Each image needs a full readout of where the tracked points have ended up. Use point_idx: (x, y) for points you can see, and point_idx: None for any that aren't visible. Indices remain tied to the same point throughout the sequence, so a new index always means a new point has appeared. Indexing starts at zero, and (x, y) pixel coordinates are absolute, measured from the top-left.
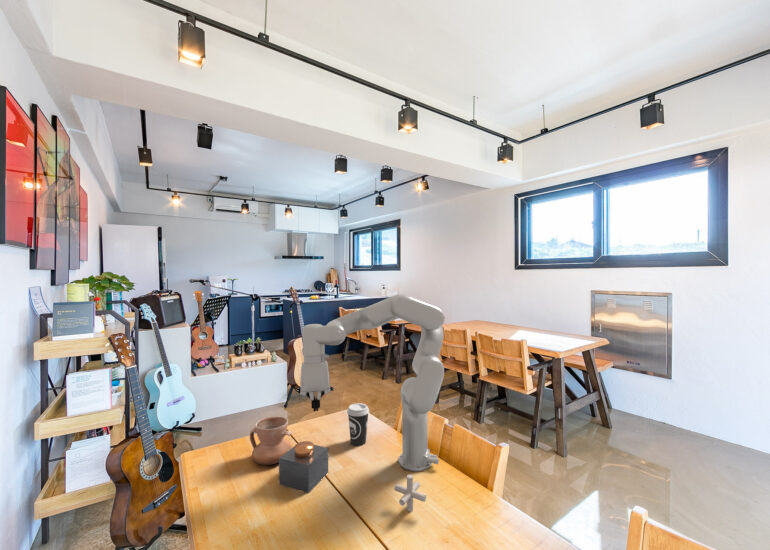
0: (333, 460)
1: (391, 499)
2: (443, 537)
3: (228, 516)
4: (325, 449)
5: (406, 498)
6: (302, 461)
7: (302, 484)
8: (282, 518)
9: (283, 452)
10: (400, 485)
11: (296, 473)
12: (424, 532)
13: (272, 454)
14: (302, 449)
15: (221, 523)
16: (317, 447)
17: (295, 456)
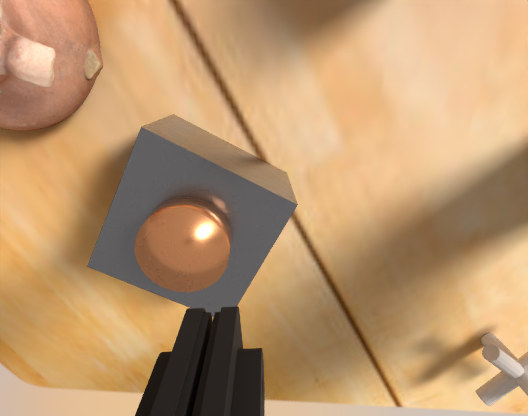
0: (304, 86)
1: (457, 305)
2: (517, 403)
3: (47, 327)
4: (285, 217)
5: (500, 398)
6: (196, 296)
7: None
8: None
9: (71, 94)
10: (508, 362)
11: None
12: None
13: (26, 120)
14: (182, 285)
15: (45, 345)
16: (244, 196)
17: None
